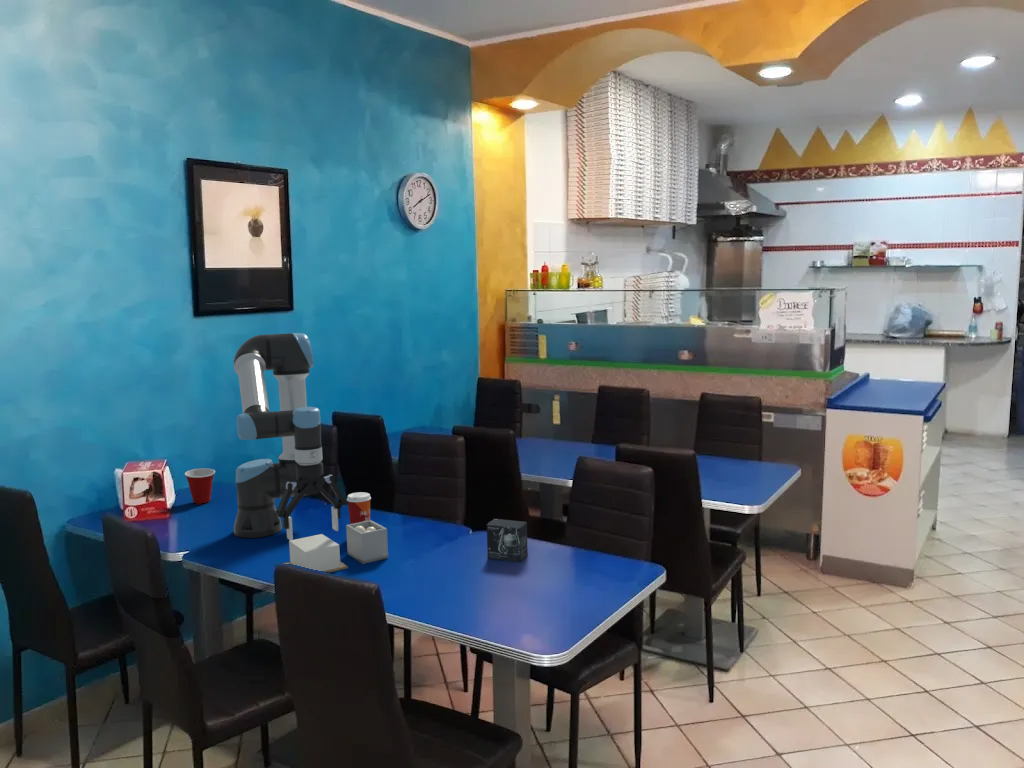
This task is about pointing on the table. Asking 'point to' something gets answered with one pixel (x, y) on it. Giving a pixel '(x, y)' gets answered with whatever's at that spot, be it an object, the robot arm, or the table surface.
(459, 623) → the table surface
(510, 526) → the box
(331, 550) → the lid
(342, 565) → the trivet
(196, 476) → the plastic cup
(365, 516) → the paper cup
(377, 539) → the dough box
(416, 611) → the table surface
